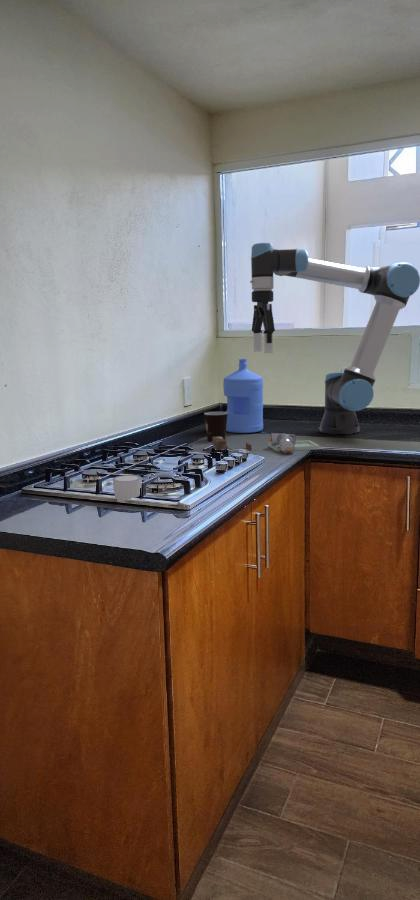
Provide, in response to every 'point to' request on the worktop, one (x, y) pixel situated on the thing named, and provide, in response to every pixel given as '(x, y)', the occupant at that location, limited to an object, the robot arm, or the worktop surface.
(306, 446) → the pale green tray
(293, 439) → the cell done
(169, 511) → the worktop surface
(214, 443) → the brown wooden stand
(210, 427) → the coffee mug
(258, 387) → the water jug
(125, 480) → the light grey cup
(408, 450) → the worktop surface
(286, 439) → the cell
